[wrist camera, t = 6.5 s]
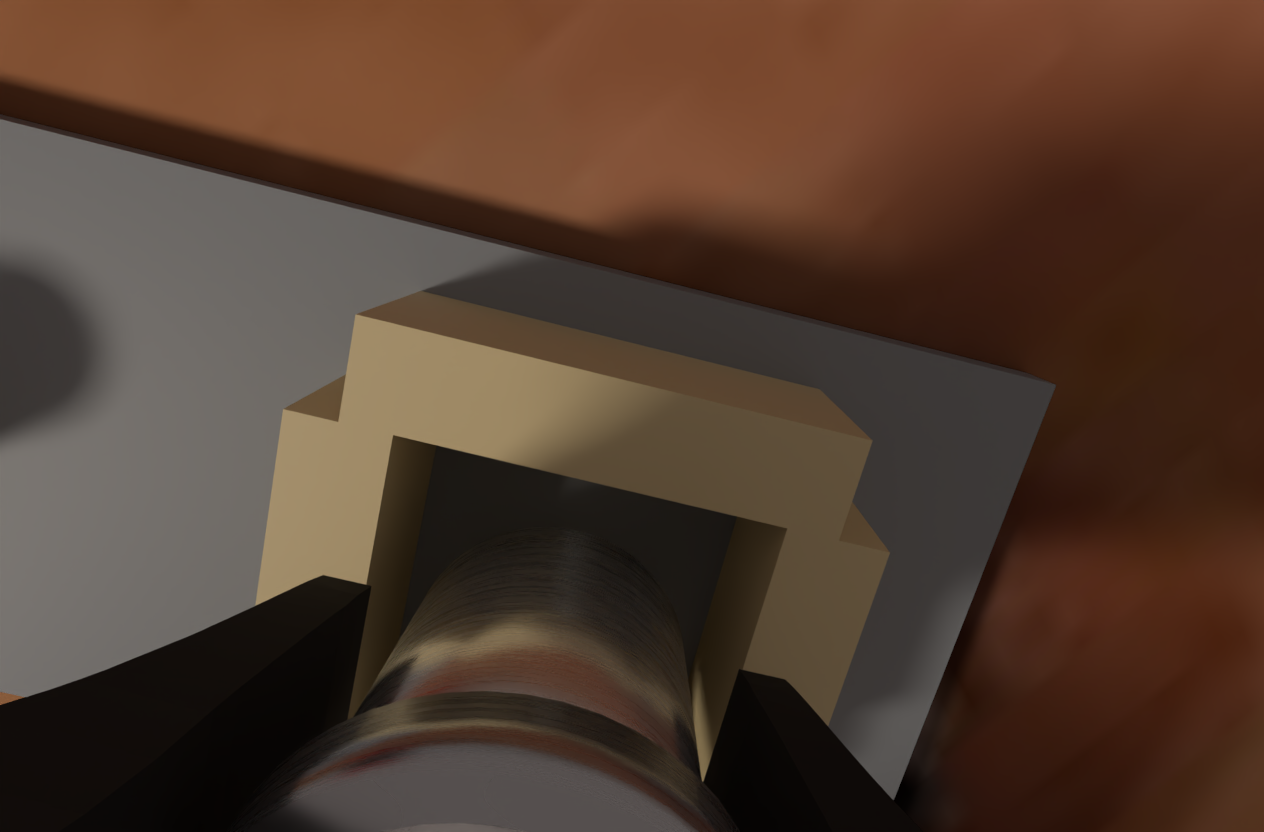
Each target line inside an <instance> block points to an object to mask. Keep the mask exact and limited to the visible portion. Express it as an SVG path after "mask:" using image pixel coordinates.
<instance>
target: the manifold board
mask: <svg viewBox="0 0 1264 832" xmlns="http://www.w3.org/2000/svg"><path fill="white" fill-rule="evenodd" d="M1055 387H1056V385H1055V384H1053V383H1050V382H1048V381H1046V380H1043V379H1041V378H1038V377H1036V376H1033V375H1031V374H1029V373H1026V372H1022V371H1018V370H1014V369H1010V368H1006V367H1002V366H998V365H994V364H990V363H986V362H982V361H978V360H974V359H970V358H966V357H962V356H958V355H954V354H950V353H946V352H942V351H938V350H934V349H930V348H926V347H922V346H918V345H914V344H910V343H906V342H903V341H899V340H895V339H891V338H887V337H883V336H879V335H875V334H871V333H867V332H863V331H859V330H855V329H851V328H847V327H843V326H839V325H835V324H831V323H827V322H823V321H819V320H815V319H811V318H807V317H803V316H799V315H795V314H791V313H787V312H783V311H779V310H775V309H772V308H768V307H764V306H760V305H756V304H752V303H748V302H744V301H740V300H736V299H732V298H728V297H724V296H720V295H716V294H712V293H708V292H704V291H700V290H696V289H692V288H688V287H684V286H680V285H676V284H672V283H668V282H664V281H660V280H656V279H652V278H648V277H645V276H641V275H637V274H633V273H629V272H625V271H621V270H617V269H613V268H609V267H605V266H601V265H597V264H593V263H589V262H585V261H581V260H577V259H573V258H569V257H565V256H561V255H557V254H553V253H549V252H545V251H541V250H537V249H533V248H529V247H525V246H521V245H517V244H514V243H510V242H506V241H502V240H498V239H494V238H490V237H486V236H482V235H478V234H474V233H470V232H466V231H462V230H458V229H454V228H450V227H446V226H442V225H438V224H434V223H430V222H426V221H422V220H418V219H414V218H410V217H406V216H402V215H398V214H394V213H390V212H387V211H383V210H379V209H375V208H371V207H367V206H363V205H359V204H355V203H351V202H347V201H343V200H339V199H335V198H331V197H327V196H323V195H319V194H315V193H311V192H307V191H303V190H299V189H295V188H291V187H287V186H283V185H279V184H275V183H271V182H267V181H263V180H259V179H256V178H252V177H248V176H244V175H240V174H236V173H232V172H228V171H224V170H220V169H216V168H212V167H208V166H204V165H200V164H196V163H192V162H188V161H184V160H180V159H176V158H172V157H168V156H164V155H160V154H156V153H152V152H148V151H144V150H140V149H136V148H132V147H128V146H125V145H121V144H117V143H113V142H109V141H105V140H101V139H97V138H93V137H89V136H85V135H81V134H77V133H73V132H69V131H65V130H61V129H57V128H53V127H49V126H45V125H41V124H37V123H33V122H29V121H25V120H21V119H17V118H13V117H9V116H5V115H1V114H0V692H4V693H9V694H13V695H18V696H23V697H28V696H31V695H34V694H37V693H41V692H44V691H47V690H50V689H53V688H56V687H59V686H62V685H65V684H67V683H70V682H73V681H76V680H79V679H82V678H85V677H87V676H90V675H93V674H96V673H98V672H101V671H104V670H106V669H109V668H111V667H114V666H116V665H119V664H121V663H124V662H126V661H129V660H131V659H133V658H136V657H138V656H141V655H143V654H146V653H148V652H151V651H153V650H156V649H158V648H161V647H163V646H166V645H168V644H171V643H173V642H175V641H178V640H180V639H183V638H185V637H188V636H190V635H193V634H195V633H197V632H199V631H201V630H204V629H206V628H208V627H210V626H212V625H215V624H217V623H219V622H221V621H223V620H226V619H228V618H230V617H232V616H234V615H236V614H239V613H241V612H243V611H245V610H247V609H250V608H252V607H254V606H256V605H258V604H260V603H262V602H264V601H267V600H269V599H271V598H273V597H275V596H277V595H279V594H281V593H283V592H285V591H288V590H290V589H292V588H294V587H296V586H298V585H300V584H303V583H305V582H307V581H309V580H312V579H314V578H317V577H319V576H322V575H326V576H330V577H334V578H339V579H343V580H348V581H352V582H357V583H361V584H365V585H370V586H371V592H370V597H369V603H368V608H367V614H366V619H365V625H364V630H363V636H362V642H361V647H360V653H359V658H358V664H357V669H356V675H355V680H354V686H353V691H352V697H351V702H350V708H349V713H348V719H351V718H353V717H354V715H355V713H356V712H357V710H358V708H359V707H360V705H361V703H362V701H363V700H364V698H365V696H366V695H367V693H368V691H369V690H370V688H371V686H372V685H373V683H374V681H375V680H376V678H377V676H378V675H379V673H380V671H381V670H382V668H383V666H384V665H385V663H386V661H387V660H388V658H389V656H390V655H391V653H392V651H393V650H394V648H395V646H396V645H397V643H398V641H399V640H400V638H401V636H402V635H403V633H404V631H405V630H406V628H407V626H408V625H409V623H410V621H411V619H412V618H413V616H414V614H415V613H416V611H417V609H418V608H419V606H420V604H421V603H422V601H423V599H424V598H425V596H426V594H427V593H428V591H429V589H430V588H431V587H432V585H433V584H434V582H435V581H436V579H437V578H438V577H439V575H440V574H441V573H442V572H443V571H444V570H445V569H446V568H447V567H448V566H449V565H450V563H452V562H453V561H454V560H455V559H457V558H458V557H459V556H460V555H461V554H463V553H464V552H466V551H467V550H469V549H470V548H472V547H474V546H475V545H477V544H479V543H481V542H483V541H485V540H487V539H490V538H492V537H494V536H497V535H500V534H503V533H507V532H510V531H514V530H520V529H526V528H537V527H554V528H566V529H571V530H576V531H581V532H585V533H588V534H591V535H594V536H597V537H600V538H602V539H604V540H607V541H609V542H611V543H613V544H615V545H617V546H619V547H620V548H622V549H623V550H625V551H626V552H628V553H629V554H631V555H632V556H634V557H635V558H636V559H637V560H638V561H639V562H640V563H642V564H643V565H644V566H645V567H646V568H647V569H648V570H649V571H650V572H651V573H652V575H653V576H654V577H655V578H656V579H657V580H658V582H659V583H660V585H661V586H662V588H663V589H664V591H665V592H666V593H667V595H668V597H669V599H670V601H671V603H672V605H673V607H674V609H675V612H676V615H677V618H678V621H679V624H680V629H681V635H682V640H683V647H684V654H685V662H686V669H687V676H688V683H689V691H690V698H691V705H692V713H693V720H694V727H695V735H696V742H697V749H698V756H699V764H700V771H701V778H702V782H703V781H704V778H705V775H706V772H707V768H708V765H709V762H710V759H711V756H712V753H713V749H714V746H715V743H716V740H717V737H718V734H719V731H720V727H721V724H722V721H723V718H724V715H725V712H726V709H727V705H728V702H729V699H730V696H731V693H732V690H733V686H734V683H735V680H736V677H737V674H738V671H739V669H741V670H746V671H750V672H755V673H759V674H764V675H768V676H772V677H777V678H781V679H785V680H786V681H787V682H788V683H790V684H791V685H792V686H793V687H794V688H795V690H796V691H797V692H798V693H799V694H800V695H801V696H802V697H803V698H804V699H805V700H806V702H807V703H808V704H809V705H810V706H811V707H812V708H813V710H814V711H815V712H816V713H817V714H818V715H819V716H820V718H821V719H822V720H823V721H824V722H825V723H826V725H827V726H828V727H829V728H830V729H831V730H832V732H833V733H834V734H835V735H836V736H837V737H838V739H839V740H840V741H841V742H842V743H843V744H844V746H845V747H846V748H847V749H848V750H849V751H850V752H851V754H852V755H853V756H854V757H855V758H856V759H857V760H858V762H859V763H860V764H861V765H862V766H863V767H864V768H865V769H866V771H867V772H868V773H869V774H870V775H871V776H872V777H873V778H874V780H875V781H876V782H877V783H878V784H879V785H880V786H881V787H882V788H883V790H884V791H885V792H886V793H887V794H888V795H889V796H890V797H891V798H892V799H893V800H894V798H895V796H896V793H897V791H898V788H899V786H900V783H901V781H902V778H903V775H904V773H905V770H906V768H907V765H908V763H909V760H910V758H911V755H912V752H913V750H914V747H915V745H916V742H917V740H918V737H919V735H920V732H921V729H922V727H923V724H924V722H925V719H926V717H927V714H928V712H929V709H930V706H931V704H932V701H933V699H934V696H935V694H936V691H937V689H938V686H939V683H940V681H941V678H942V676H943V673H944V671H945V668H946V666H947V663H948V660H949V658H950V655H951V653H952V650H953V648H954V645H955V642H956V640H957V637H958V635H959V632H960V630H961V627H962V625H963V622H964V619H965V617H966V614H967V612H968V609H969V607H970V604H971V602H972V599H973V596H974V594H975V591H976V589H977V586H978V584H979V581H980V579H981V576H982V573H983V571H984V568H985V566H986V563H987V561H988V558H989V556H990V553H991V550H992V548H993V545H994V543H995V540H996V538H997V535H998V533H999V530H1000V527H1001V525H1002V522H1003V520H1004V517H1005V515H1006V512H1007V510H1008V507H1009V504H1010V502H1011V499H1012V497H1013V494H1014V492H1015V489H1016V487H1017V484H1018V481H1019V479H1020V476H1021V474H1022V471H1023V469H1024V466H1025V464H1026V461H1027V458H1028V456H1029V453H1030V451H1031V448H1032V446H1033V443H1034V441H1035V438H1036V435H1037V433H1038V430H1039V428H1040V425H1041V423H1042V420H1043V418H1044V415H1045V412H1046V410H1047V407H1048V405H1049V402H1050V400H1051V397H1052V395H1053V392H1054V389H1055ZM348 719H347V720H348Z"/></svg>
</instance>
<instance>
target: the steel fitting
mask: <svg viewBox="0 0 1264 832" xmlns="http://www.w3.org/2000/svg"><path fill="white" fill-rule="evenodd" d="M226 832H740V830H739V828H738V826H737V825H736V824H735V822H734V821H733V819H732V818H731V816H730V815H729V814H728V812H727V811H726V809H725V808H724V806H723V805H722V803H721V802H720V801H719V799H718V798H717V797H716V796H715V795H714V794H713V793H712V792H711V790H710V789H709V788H708V787H707V786H706V785H705V784H704V783H703V782H702V778H701V771H700V764H699V756H698V749H697V742H696V735H695V727H694V720H693V713H692V705H691V698H690V691H689V683H688V676H687V669H686V662H685V654H684V647H683V640H682V635H681V629H680V624H679V621H678V618H677V615H676V612H675V609H674V607H673V605H672V603H671V601H670V599H669V597H668V595H667V593H666V592H665V591H664V589H663V588H662V586H661V585H660V583H659V582H658V580H657V579H656V578H655V577H654V576H653V575H652V573H651V572H650V571H649V570H648V569H647V568H646V567H645V566H644V565H643V564H642V563H640V562H639V561H638V560H637V559H636V558H635V557H634V556H632V555H631V554H629V553H628V552H626V551H625V550H623V549H622V548H620V547H619V546H617V545H615V544H613V543H611V542H609V541H607V540H604V539H602V538H600V537H597V536H594V535H591V534H588V533H585V532H581V531H576V530H571V529H566V528H554V527H537V528H526V529H520V530H514V531H510V532H507V533H503V534H500V535H497V536H494V537H492V538H490V539H487V540H485V541H483V542H481V543H479V544H477V545H475V546H474V547H472V548H470V549H469V550H467V551H466V552H464V553H463V554H461V555H460V556H459V557H458V558H457V559H455V560H454V561H453V562H452V563H450V565H449V566H448V567H447V568H446V569H445V570H444V571H443V572H442V573H441V574H440V575H439V577H438V578H437V579H436V581H435V582H434V584H433V585H432V587H431V588H430V589H429V591H428V593H427V594H426V596H425V598H424V599H423V601H422V603H421V604H420V606H419V608H418V609H417V611H416V613H415V614H414V616H413V618H412V619H411V621H410V623H409V625H408V626H407V628H406V630H405V631H404V633H403V635H402V636H401V638H400V640H399V641H398V643H397V645H396V646H395V648H394V650H393V651H392V653H391V655H390V656H389V658H388V660H387V661H386V663H385V665H384V666H383V668H382V670H381V671H380V673H379V675H378V676H377V678H376V680H375V681H374V683H373V685H372V686H371V688H370V690H369V691H368V693H367V695H366V696H365V698H364V700H363V701H362V703H361V705H360V707H359V708H358V710H357V712H356V713H355V715H354V717H353V718H351V719H348V720H346V721H344V722H342V723H339V724H337V725H335V726H334V727H332V728H330V729H329V730H327V731H325V732H324V733H322V734H320V735H319V736H317V737H315V738H314V739H312V740H310V741H309V742H307V743H306V744H304V745H303V746H302V747H301V748H299V749H298V750H297V751H296V752H294V753H293V754H292V755H291V756H289V757H288V758H287V759H286V760H285V761H283V762H282V763H281V764H280V765H278V766H277V767H276V769H275V770H274V771H273V772H272V773H271V774H270V775H269V776H268V777H267V778H266V779H265V780H264V781H263V783H262V784H261V785H260V786H259V787H258V788H257V789H256V790H255V791H254V793H253V794H252V796H251V797H250V799H249V800H248V801H247V803H246V804H245V806H244V807H243V809H242V810H241V811H240V813H239V814H238V816H237V817H236V819H235V820H234V821H233V823H232V824H231V826H230V827H229V829H228V830H227V831H226Z"/></svg>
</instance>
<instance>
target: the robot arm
mask: <svg viewBox="0 0 1264 832" xmlns="http://www.w3.org/2000/svg"><path fill="white" fill-rule="evenodd" d="M370 592H371V586H370V585H365V584H361V583H357V582H352V581H348V580H343V579H339V578H334V577H330V576H326V575H322V576H319V577H317V578H314V579H312V580H309V581H307V582H305V583H303V584H300V585H298V586H296V587H294V588H292V589H290V590H288V591H285V592H283V593H281V594H279V595H277V596H275V597H273V598H271V599H269V600H267V601H264V602H262V603H260V604H258V605H256V606H254V607H252V608H250V609H247V610H245V611H243V612H241V613H239V614H236V615H234V616H232V617H230V618H228V619H226V620H223V621H221V622H219V623H217V624H215V625H212V626H210V627H208V628H206V629H204V630H201V631H199V632H197V633H195V634H193V635H190V636H188V637H185V638H183V639H180V640H178V641H175V642H173V643H171V644H168V645H166V646H163V647H161V648H158V649H156V650H153V651H151V652H148V653H146V654H143V655H141V656H138V657H136V658H133V659H131V660H129V661H126V662H124V663H121V664H119V665H116V666H114V667H111V668H109V669H106V670H104V671H101V672H98V673H96V674H93V675H90V676H87V677H85V678H82V679H79V680H76V681H73V682H70V683H67V684H65V685H62V686H59V687H56V688H53V689H50V690H47V691H44V692H41V693H37V694H34V695H31V696H28V697H25V698H22V699H18V700H15V701H12V702H9V703H6V704H2V705H0V832H226V831H227V830H228V829H229V827H230V826H231V824H232V823H233V821H234V820H235V819H236V817H237V816H238V814H239V813H240V811H241V810H242V809H243V807H244V806H245V804H246V803H247V801H248V800H249V799H250V797H251V796H252V794H253V793H254V791H255V790H256V789H257V788H258V787H259V786H260V785H261V784H262V783H263V781H264V780H265V779H266V778H267V777H268V776H269V775H270V774H271V773H272V772H273V771H274V770H275V769H276V767H277V766H278V765H280V764H281V763H282V762H283V761H285V760H286V759H287V758H288V757H289V756H291V755H292V754H293V753H294V752H296V751H297V750H298V749H299V748H301V747H302V746H303V745H304V744H306V743H307V742H309V741H310V740H312V739H314V738H315V737H317V736H319V735H320V734H322V733H324V732H325V731H327V730H329V729H330V728H332V727H334V726H335V725H337V724H339V723H342V722H344V721H346V720H347V719H348V713H349V708H350V702H351V697H352V691H353V686H354V680H355V675H356V669H357V664H358V658H359V653H360V647H361V642H362V636H363V630H364V625H365V619H366V614H367V608H368V603H369V597H370ZM703 783H704V784H705V785H706V786H707V787H708V788H709V789H710V790H711V792H712V793H713V794H714V795H715V796H716V797H717V798H718V799H719V801H720V802H721V803H722V805H723V806H724V808H725V809H726V811H727V812H728V814H729V815H730V816H731V818H732V819H733V821H734V822H735V824H736V825H737V826H738V828H739V830H740V832H923V831H922V830H921V829H920V828H919V827H918V826H917V825H916V824H915V823H914V822H913V821H912V820H911V819H910V818H909V816H908V815H907V814H906V813H905V812H904V811H903V810H902V809H901V808H900V807H899V806H898V805H897V804H896V803H895V802H894V800H893V799H892V798H891V797H890V796H889V795H888V794H887V793H886V792H885V791H884V790H883V788H882V787H881V786H880V785H879V784H878V783H877V782H876V781H875V780H874V778H873V777H872V776H871V775H870V774H869V773H868V772H867V771H866V769H865V768H864V767H863V766H862V765H861V764H860V763H859V762H858V760H857V759H856V758H855V757H854V756H853V755H852V754H851V752H850V751H849V750H848V749H847V748H846V747H845V746H844V744H843V743H842V742H841V741H840V740H839V739H838V737H837V736H836V735H835V734H834V733H833V732H832V730H831V729H830V728H829V727H828V726H827V725H826V723H825V722H824V721H823V720H822V719H821V718H820V716H819V715H818V714H817V713H816V712H815V711H814V710H813V708H812V707H811V706H810V705H809V704H808V703H807V702H806V700H805V699H804V698H803V697H802V696H801V695H800V694H799V693H798V692H797V691H796V690H795V688H794V687H793V686H792V685H791V684H790V683H788V682H787V681H786V680H785V679H781V678H777V677H772V676H768V675H764V674H759V673H755V672H750V671H746V670H741V669H739V671H738V674H737V677H736V680H735V683H734V686H733V690H732V693H731V696H730V699H729V702H728V705H727V709H726V712H725V715H724V718H723V721H722V724H721V727H720V731H719V734H718V737H717V740H716V743H715V746H714V749H713V753H712V756H711V759H710V762H709V765H708V768H707V772H706V775H705V778H704V781H703Z"/></svg>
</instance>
